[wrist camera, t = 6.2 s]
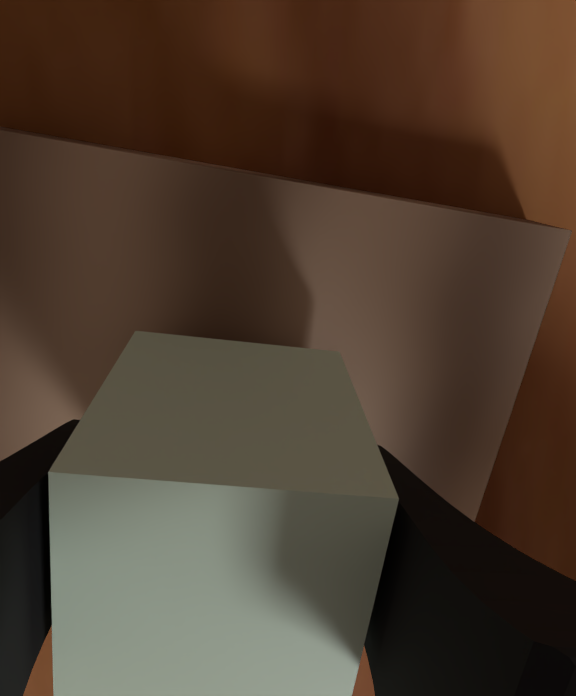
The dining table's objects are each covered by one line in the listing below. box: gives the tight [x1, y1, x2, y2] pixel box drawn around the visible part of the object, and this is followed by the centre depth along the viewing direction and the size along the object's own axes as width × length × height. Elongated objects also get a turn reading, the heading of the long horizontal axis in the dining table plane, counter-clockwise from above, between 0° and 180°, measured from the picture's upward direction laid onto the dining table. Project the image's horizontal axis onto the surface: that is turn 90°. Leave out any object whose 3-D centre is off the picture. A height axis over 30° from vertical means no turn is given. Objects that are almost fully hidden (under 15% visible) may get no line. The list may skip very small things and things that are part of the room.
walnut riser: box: [0, 127, 572, 522], centre depth 17 cm, size 16×12×3 cm
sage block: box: [48, 331, 399, 696], centre depth 12 cm, size 5×5×6 cm
